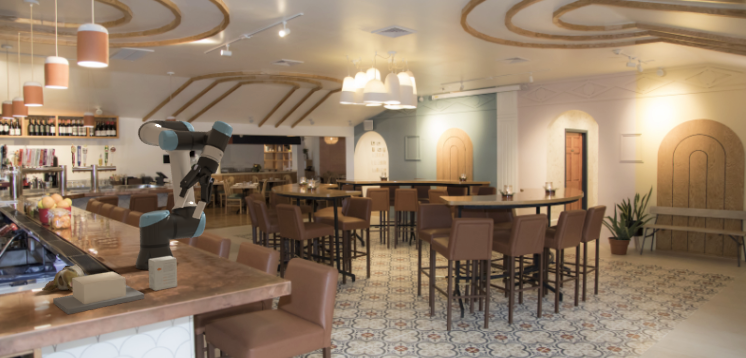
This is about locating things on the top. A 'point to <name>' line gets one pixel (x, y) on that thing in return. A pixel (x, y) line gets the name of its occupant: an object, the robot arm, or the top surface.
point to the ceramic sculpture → (64, 278)
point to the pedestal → (97, 293)
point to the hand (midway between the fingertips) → (187, 212)
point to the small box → (162, 273)
